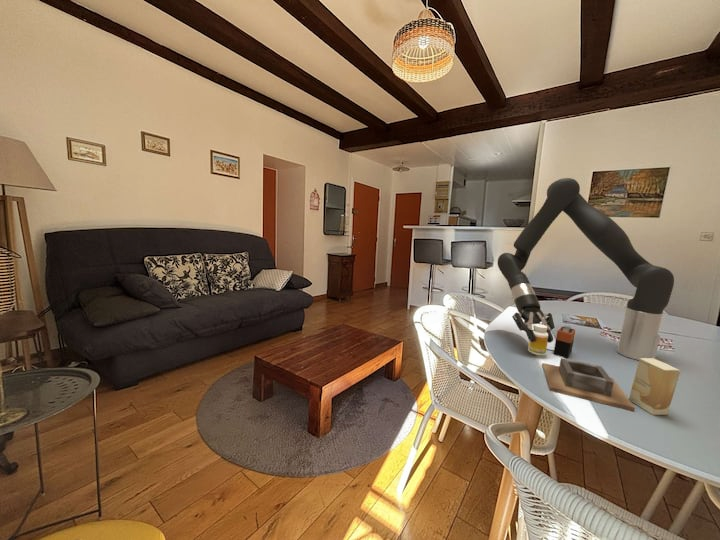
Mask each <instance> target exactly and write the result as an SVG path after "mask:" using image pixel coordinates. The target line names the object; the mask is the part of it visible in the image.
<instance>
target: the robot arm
mask: <svg viewBox="0 0 720 540" xmlns="http://www.w3.org/2000/svg"><path fill="white" fill-rule="evenodd" d="M580 190H581V189H580V184H579V181H577V179H575V178H571V177H570V178H569V177H564V178H560V179H557V180H555V181H553V182H552V183H551V184H550V185H549V186H548V188H547V190H546V199H545V201H544V203H543V204H542V206H541V208H540V209H539V211H537V213H536V214H535V216H534V217H532V219H531V220H530V221H529V222H528V223H527V224H526V226H525V227H524V228H523V230H522V231H521V232H520V233H519V235H518V237H517V238H516V240H515V241H514V242H513V248H514V249H515V252H514V253H515V254H513V253H509V252H504V253H502V254H500V255H499V256H498V257H497V266H498V269H499V271H500V272H501V274H502V275H503V277H504V279H505V280H506V281H507V283H508V287H509V289H510V292H511V296H512V297H511V298H512V299H513V301H514V304H515V307H516V309H517V312H515V313H514V314H513V315H512V319H513V320H514V322H515V324H516V327H517V328H518V330H519V331H520V332H521V331H524V332H525V333H526V336H527V337H528V341H529V340H530V341H531V342H535V341H536V337H535V335H534V332H533V328H532V327H533V325H534V324H542V325H545V326H547V331H546V332H547V333H548V342H547V343H552V342H553V341H554V337H553V333H552V332H551V331H552V330H553V329H555V323H554V319H553V318H554V317H553V314H552V313H550V312H549V313H544V312H543V311H542V310H541V304H540V301H539V300H538V297H537V295H536V292H535V290H534V289H533V287H532V285H531V283H530V281H529V278H528V276H527V274H526V273H524V272H523V270H524V268H525V267H526V266H527V263H528V261H529V258H530V255H531V253H532V251H533V250H534V248H535V247H536V246H537V244H538V243H539V242H540V240H541V239H542V237H543V236H544V235H545V234H546V232H547V230H548V229H549V228H550V226H551V225H552V224H553V222H555V220H556V219H557V218H558V217H559V215H560V214H561V213H562V212H563V213H564V214H565V215H567V217H569V218H570V219H571V220H572V222H573V223H574V224H575V226H576V227H577V228H578V229H579V230H580V232H582V234H584V236H585V237H586V238H587V239H588V240H589V242H591V243H592V244H593V246H595V247H596V248H597V249H598V250H600V252H602V254H604V255H605V256H606V258H608V259H609V260H611V262H613V263H614V264H615V265H616V266H617V268H618V269H619V270H620V271H621V272H622V274H623V275H624V276H625V278H626V279H627V280H628V281H629V283H630V284H631V285H632V286H633V287H634V288H636V290H635V293H634V297H632V298H631V299H629V300H628V301H627V304H626V307H625V308H626V309H625V312H624V318H623V322H622V326H621V327H622V328H621V332H620V337H619V342H618V345H617V353H619V354H620V355H621V356H624V357H627V358H629V359H632V360H637V361H639V359H640V358H654V359H656V357H657V352H658V347H659V343H660V339H661V336H660V334H659V330H660V326H661V322H662V321H661V320H662V317H663V313H664V310H665V308H667V306H668V304H669V302H670V299H671V297H672V296H671V295H672V292H673V289H674V284H675V277H674V274H673V272H672V271H671V270H670V269H667V268H666V267H662V266H658V265H654V264H652V263H651V262H649V261H648V260H647V259H645V258H644V257H643V256H642V255H641V254H640V253H639V252H637V251H636V249H635V247H634V245H633V244H632V242H631V240H630V238H629V236H628V235H627V233H626V232H625V231H624V229H622V227H621V226H619V225H618V223H616V222H615V221H614V219H612V218H611V217H609V216H608V215H607V214H605V213H604V212H603V211H601V210H600V209H598V208H596V207H594V206H593V205H592V204H590V203H589V202H588V201H587V200H586V199H585V198H584V197H583V195H581V193H580V192H581V191H580Z"/></svg>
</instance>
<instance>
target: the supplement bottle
mask: <svg viewBox="0 0 720 540" xmlns="http://www.w3.org/2000/svg"><path fill="white" fill-rule="evenodd" d="M532 327H533V328H532V330H533V332H534V335H535V337H536V341H535V342H531V341H530V340H529V339H528V345H527V348H528V349H527V351H529V352H530V353H531V354H534V355H537V356H544V355H546V354H547V347H548V343H549V342H548V333H547V332H546V331H547V326H545V325H542V324H541V323H540V324H533V326H532Z"/></svg>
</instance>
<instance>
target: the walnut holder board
mask: <svg viewBox="0 0 720 540" xmlns="http://www.w3.org/2000/svg"><path fill="white" fill-rule="evenodd" d="M541 367H542V371H543V374H544V377H545V380H546V384H547V386H548V390H549V391H552V392H555V393H560V394H563V395H567V396H570V397H575V398H578V397H579V399H583V400H588V401H592V402H595V403H600V404H603V405H607V406H612V407H615V408H620V409H624V410H627V411H628V410H629V411H632V412H635V411H636V407H635V406H634V405H633V404H634V403H633V402H632V401H630V400H629V398H628V397H627V395H626V394H625V392H624V391H623V390H622V388H621V387H620V386H619V384H618V383H617V382H616V380H615V379H614V378H613V377H610V376H609V374H608V373H607V372H606V371H605V369H604V368H603V366H601V365H596V364H591V363H587V362H581V361H577V360H572V359H568V358H564V357H563V358H562V357H561V358H560V361H559V366H558V365H554V364H549V363H545V362H542V363H541Z"/></svg>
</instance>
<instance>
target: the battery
mask: <svg viewBox="0 0 720 540" xmlns="http://www.w3.org/2000/svg"><path fill="white" fill-rule="evenodd" d="M575 334H576V329H574V328H572V326H571V325H566V324H565V325H563V326H561V327H559V329H558V330H557V333H556V337H555V343H554V349H553V355H555V356H558V355H559V357H561V356H562V357H563V358H564V359H568V358H569V357H570V355H571V354H572V351H573V347H574V346H573V345H574V340H575ZM562 357H561V358H562Z"/></svg>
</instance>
